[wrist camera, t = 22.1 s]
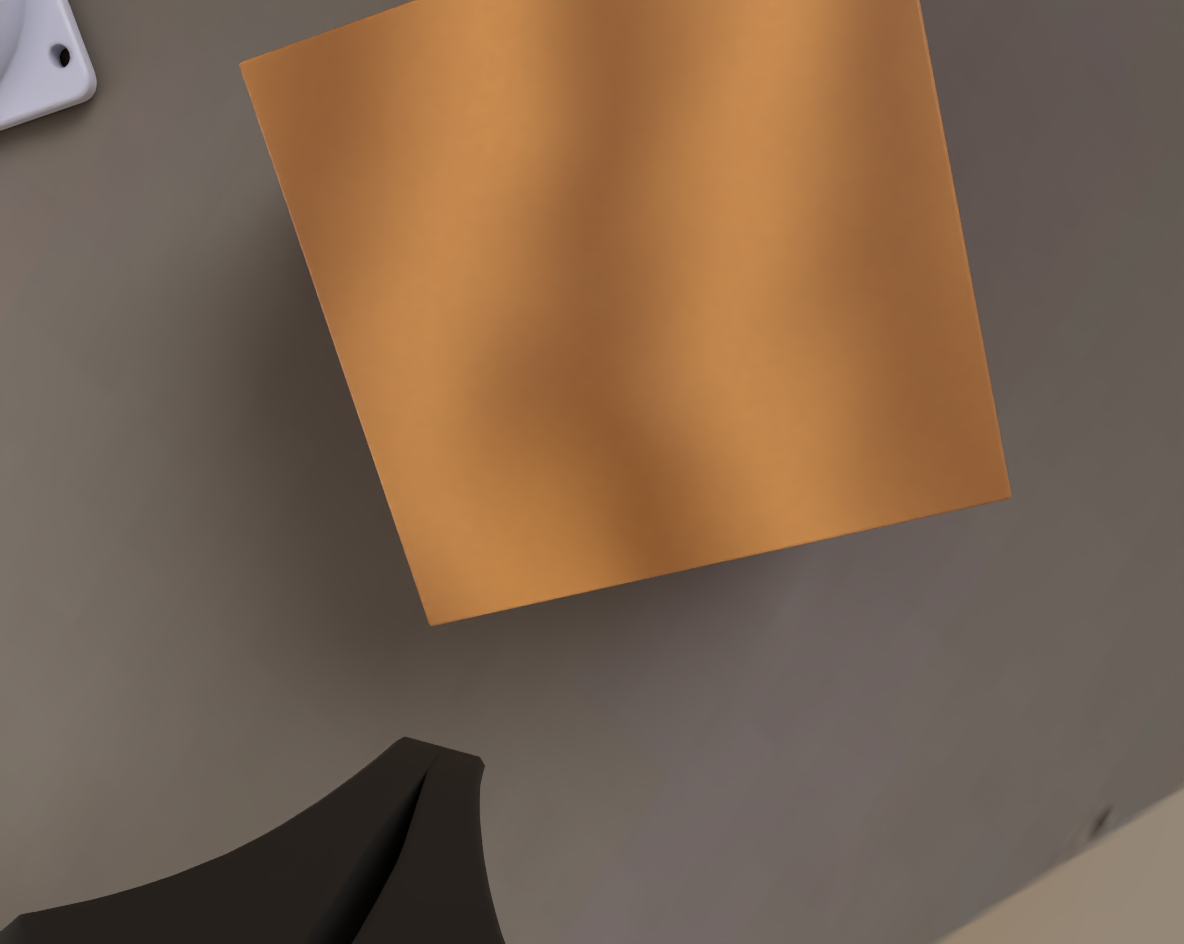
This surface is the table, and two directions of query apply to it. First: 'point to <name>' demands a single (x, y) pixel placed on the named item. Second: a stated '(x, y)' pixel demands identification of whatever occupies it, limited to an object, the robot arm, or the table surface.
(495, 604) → the case lid
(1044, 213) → the table surface
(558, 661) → the table surface
